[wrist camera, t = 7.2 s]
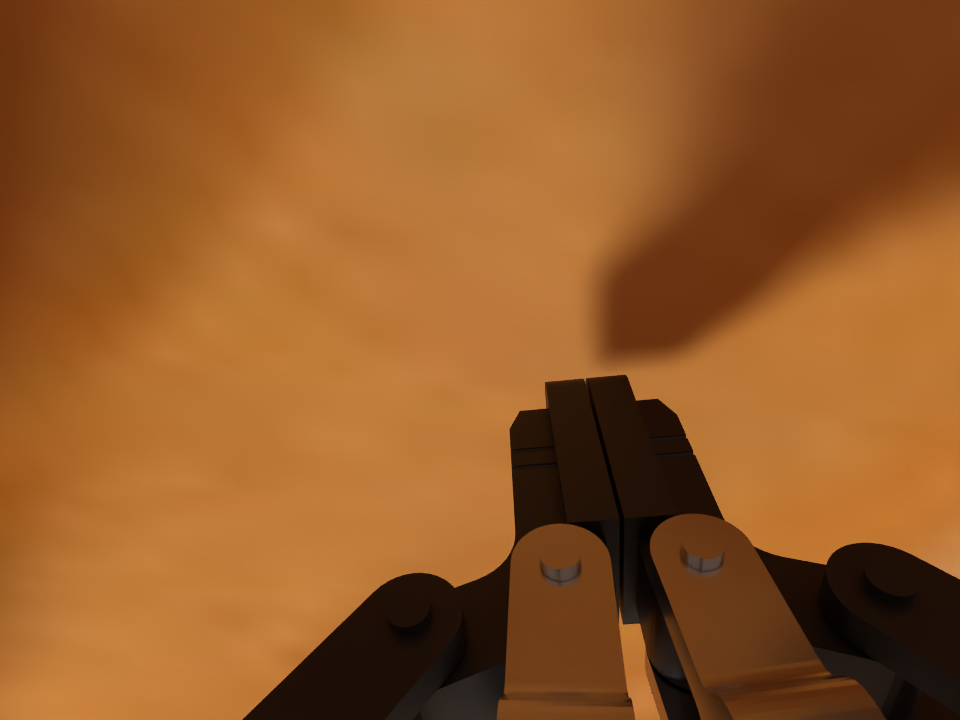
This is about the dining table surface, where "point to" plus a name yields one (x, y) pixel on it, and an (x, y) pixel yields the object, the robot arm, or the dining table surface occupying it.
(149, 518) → the dining table surface
